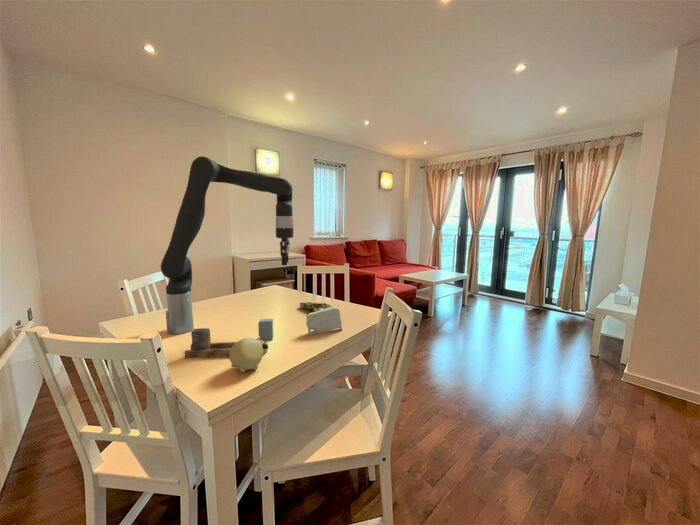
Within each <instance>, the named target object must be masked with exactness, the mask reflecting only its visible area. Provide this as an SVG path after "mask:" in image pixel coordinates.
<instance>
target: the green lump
mask: <svg viewBox="0 0 700 525" xmlns="http://www.w3.org/2000/svg"><path fill="white" fill-rule="evenodd" d="M330 307H333V306H332V305H330V304H328V303H326V302H310V301H308V302H307V301H306V302H299V308H302V309H308V310H312V312H316V311H318V310H319V309H326V308H330Z"/></svg>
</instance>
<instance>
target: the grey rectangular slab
mask: <svg viewBox="0 0 700 525" xmlns="http://www.w3.org/2000/svg"><path fill="white" fill-rule="evenodd" d="M340 311H341V310H340V309H339V308H338V306H337V307H336V306H332V307H330V308H326V309H323V308H321V309H318V311H316V312H315V311H312V312H310V313H308V314H306V322H305V323H306V327H307V329H308V331H307V332H308V334H309V336H310V335H315V334H319V333H325V332H330V331H333V330H337V329H339V330H340V331H341V330H342V331H343V325H342V319H341V312H340Z"/></svg>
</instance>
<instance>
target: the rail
mask: <svg viewBox="0 0 700 525" xmlns="http://www.w3.org/2000/svg"><path fill="white" fill-rule="evenodd" d="M190 332H191V333H190V334H191V344H190V349H189V350H188V349H187V350H184V359H187V360H188V359H207V358H222V357H223V358H224V357H225V358H227V357H229V353H230V349H231V347H232V346H233V345H234V344H235V343H236V342H237V341H230V342H229V341H226V342H212V339H211V330H210V328H209V327H208V328H207V327H205V328H204V327H201V328H194V329H193V330H191V331H190Z"/></svg>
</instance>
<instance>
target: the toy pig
mask: <svg viewBox="0 0 700 525" xmlns="http://www.w3.org/2000/svg"><path fill="white" fill-rule="evenodd" d="M235 342H236V343H235V344H234V345H233V346H232V347H231V349H230V353H229V361H230V363H231V364H230V366H231V367H232V368H235V369H238V370H239V371H240V372H241V373H245V372H246V371H248V370H252V369H253V370H254V371H257V370H258V368H259V364H260V363H261V361H262V360H263V359H262V358H263V357H264V356H265V355H266V354H267V353H268V349H269V344H268V343H266V342H265V340H263V341H262V340H260V339H258V338H256V339H255V338H254V337H247V338H242V339H239V340H238V341H235Z"/></svg>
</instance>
